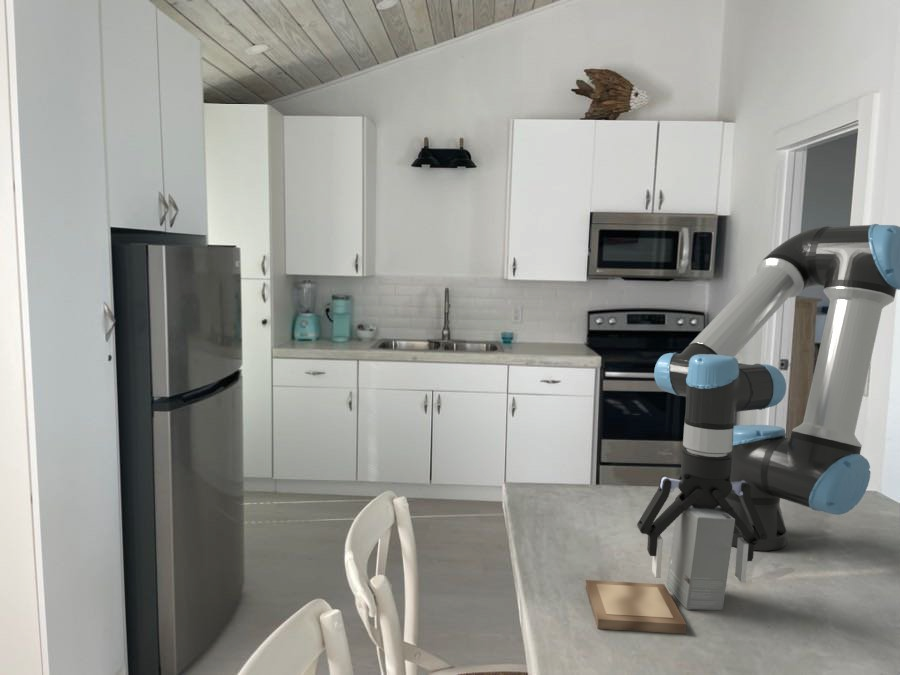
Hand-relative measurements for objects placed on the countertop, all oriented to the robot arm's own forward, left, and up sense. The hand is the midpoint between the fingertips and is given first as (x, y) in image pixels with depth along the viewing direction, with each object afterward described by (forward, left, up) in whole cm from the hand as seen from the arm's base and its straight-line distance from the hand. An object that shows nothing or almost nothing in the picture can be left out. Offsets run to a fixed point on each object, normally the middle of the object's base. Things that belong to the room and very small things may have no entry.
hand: (697, 576), depth 112 cm
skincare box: (0, 0, -4) cm, 4 cm away
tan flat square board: (+11, +5, -4) cm, 13 cm away
